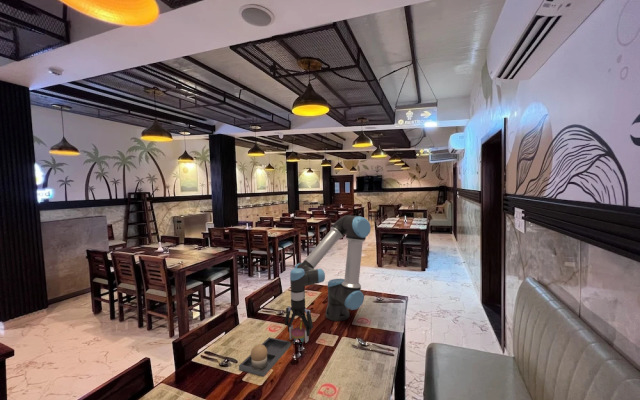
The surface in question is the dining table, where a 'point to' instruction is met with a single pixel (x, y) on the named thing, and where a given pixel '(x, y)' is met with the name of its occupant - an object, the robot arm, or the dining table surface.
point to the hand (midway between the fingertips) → (299, 339)
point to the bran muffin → (259, 356)
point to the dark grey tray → (274, 354)
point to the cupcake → (298, 333)
